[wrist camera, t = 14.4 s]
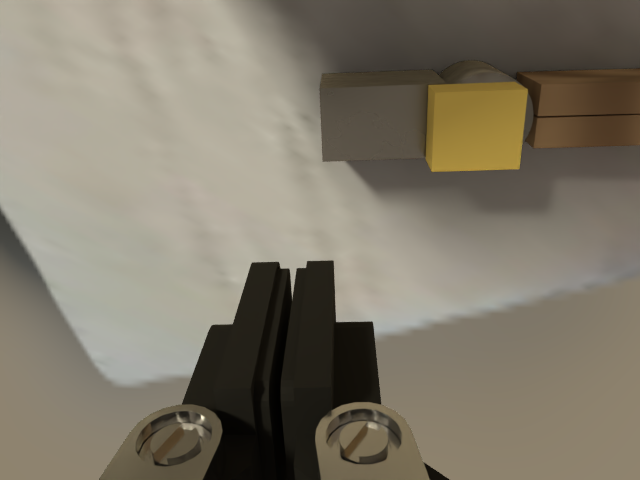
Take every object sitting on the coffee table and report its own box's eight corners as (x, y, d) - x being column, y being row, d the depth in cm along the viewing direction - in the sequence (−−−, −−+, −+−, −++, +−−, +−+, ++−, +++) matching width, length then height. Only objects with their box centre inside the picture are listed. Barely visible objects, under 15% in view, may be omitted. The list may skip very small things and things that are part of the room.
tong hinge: (325, 145, 33) (323, 169, 29) (322, 66, 31) (319, 79, 27) (503, 138, 32) (528, 162, 28) (511, 58, 30) (538, 71, 26)
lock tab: (425, 159, 28) (431, 171, 26) (428, 84, 26) (434, 92, 25) (507, 156, 28) (519, 169, 26) (515, 81, 26) (528, 89, 24)
